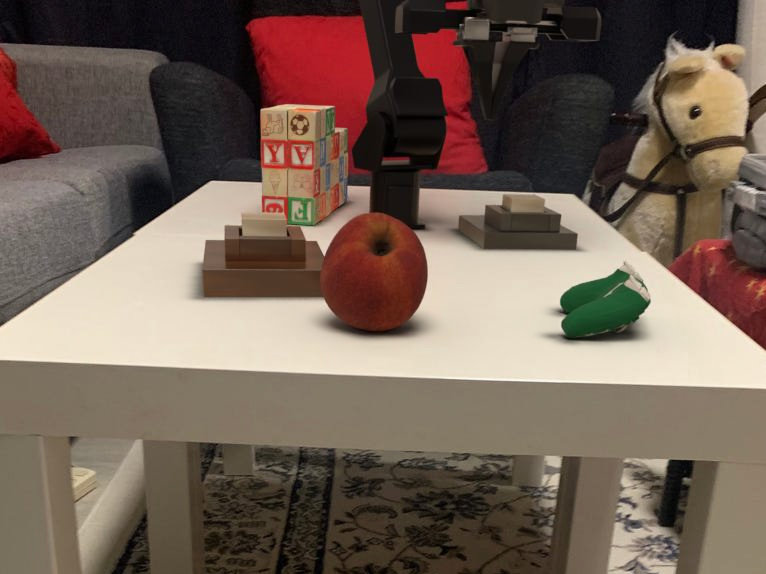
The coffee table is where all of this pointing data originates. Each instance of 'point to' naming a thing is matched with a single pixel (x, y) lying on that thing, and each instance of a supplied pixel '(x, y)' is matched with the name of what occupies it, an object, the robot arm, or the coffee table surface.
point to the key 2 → (523, 203)
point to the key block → (262, 265)
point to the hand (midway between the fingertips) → (489, 119)
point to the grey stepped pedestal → (517, 230)
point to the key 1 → (263, 224)
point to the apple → (374, 272)
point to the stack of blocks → (303, 162)
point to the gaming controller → (605, 303)
